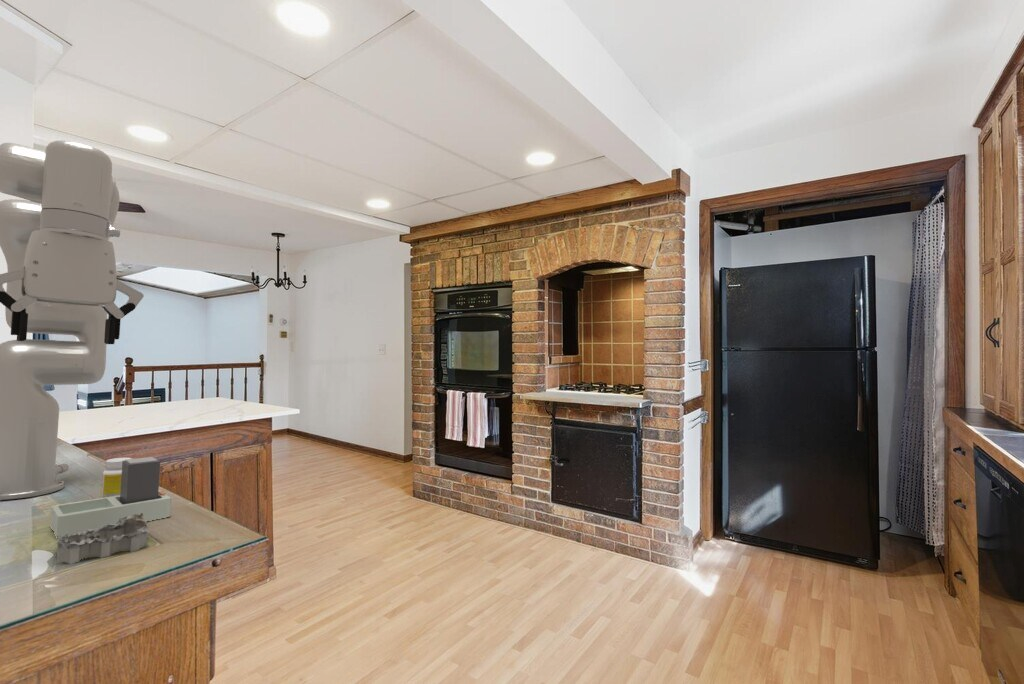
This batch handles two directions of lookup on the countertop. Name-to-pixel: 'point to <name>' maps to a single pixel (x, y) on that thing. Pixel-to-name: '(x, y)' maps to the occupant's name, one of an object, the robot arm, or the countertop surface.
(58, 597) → the countertop surface
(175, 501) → the countertop surface
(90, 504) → the power strip
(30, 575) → the countertop surface
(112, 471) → the supplement bottle
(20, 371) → the robot arm
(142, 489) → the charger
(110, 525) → the egg carton
